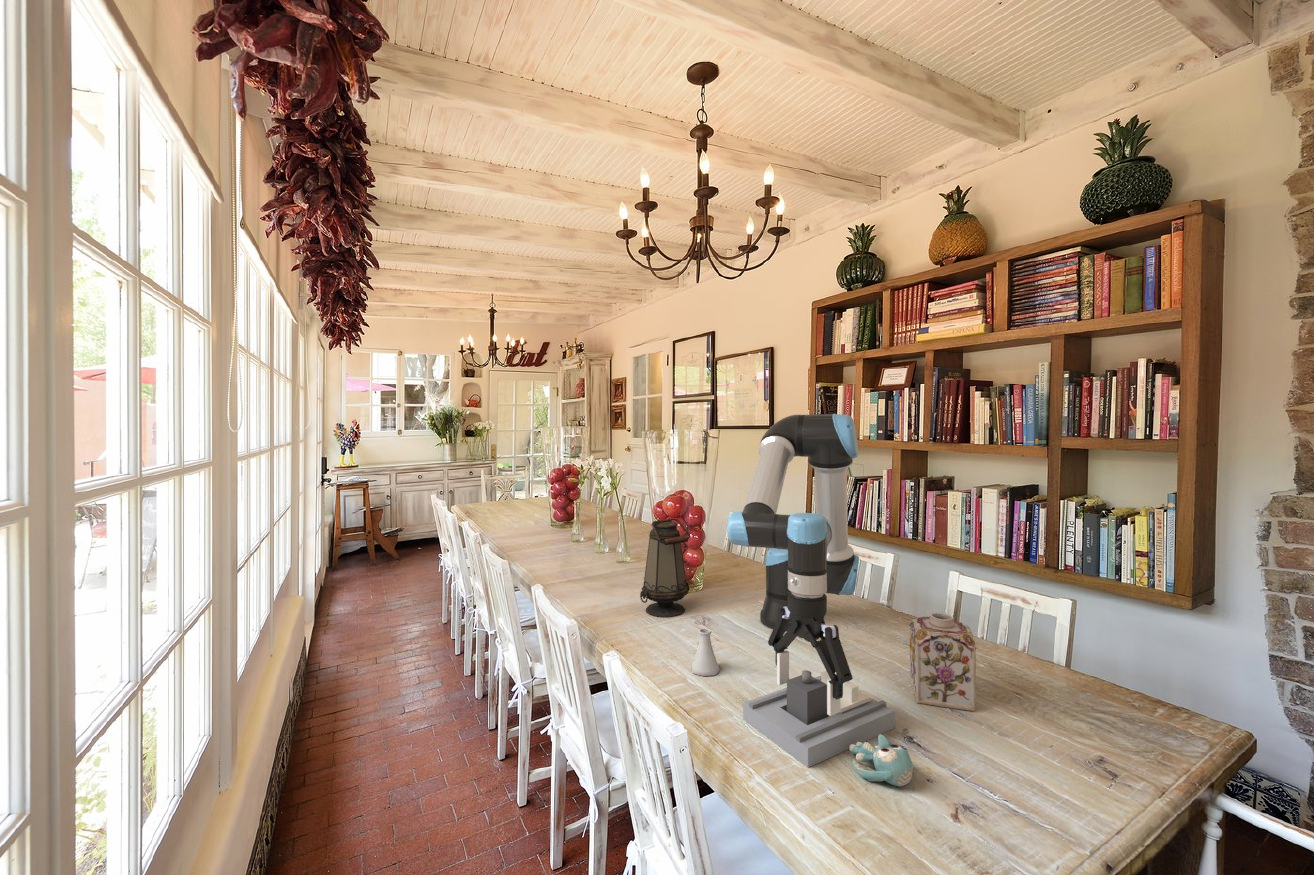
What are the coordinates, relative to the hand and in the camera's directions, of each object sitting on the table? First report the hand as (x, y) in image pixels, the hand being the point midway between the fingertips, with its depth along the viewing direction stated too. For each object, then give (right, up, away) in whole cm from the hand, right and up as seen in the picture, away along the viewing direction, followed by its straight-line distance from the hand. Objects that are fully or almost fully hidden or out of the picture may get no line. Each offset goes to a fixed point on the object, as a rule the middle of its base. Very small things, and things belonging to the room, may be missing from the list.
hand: (807, 697), depth 108 cm
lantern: (-27, -4, +67) cm, 73 cm away
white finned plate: (+8, -2, +5) cm, 10 cm away
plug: (0, -5, 0) cm, 5 cm away
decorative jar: (+33, -6, +13) cm, 36 cm away
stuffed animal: (+9, -7, -13) cm, 17 cm away
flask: (-18, -6, +25) cm, 32 cm away
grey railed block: (+3, -6, +2) cm, 7 cm away
